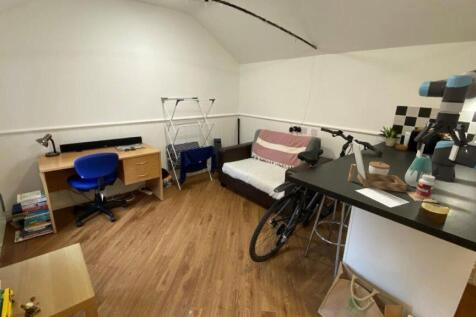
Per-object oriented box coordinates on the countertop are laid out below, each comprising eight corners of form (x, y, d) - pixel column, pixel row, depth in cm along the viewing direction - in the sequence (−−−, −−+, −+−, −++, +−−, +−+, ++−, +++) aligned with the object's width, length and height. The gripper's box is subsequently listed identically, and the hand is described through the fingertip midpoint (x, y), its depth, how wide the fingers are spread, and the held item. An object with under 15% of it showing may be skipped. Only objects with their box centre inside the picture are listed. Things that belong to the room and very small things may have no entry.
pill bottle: (411, 195, 114) (418, 174, 111) (418, 193, 117) (424, 173, 114) (426, 200, 109) (433, 179, 106) (432, 198, 112) (439, 177, 108)
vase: (430, 192, 120) (440, 160, 115) (403, 186, 126) (412, 155, 121) (426, 185, 130) (436, 155, 124) (402, 180, 136) (410, 151, 130)
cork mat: (427, 194, 117) (427, 193, 117) (439, 204, 107) (439, 202, 107) (405, 192, 119) (406, 191, 118) (415, 201, 109) (415, 199, 109)
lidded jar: (390, 180, 134) (394, 165, 131) (370, 178, 136) (373, 163, 133) (382, 174, 144) (386, 160, 141) (364, 172, 146) (367, 158, 143)
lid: (353, 140, 130) (352, 140, 130) (359, 145, 117) (358, 145, 118) (359, 170, 134) (357, 171, 134) (365, 178, 122) (364, 179, 122)
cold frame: (394, 182, 132) (398, 165, 129) (405, 192, 119) (410, 174, 116) (345, 176, 137) (348, 160, 134) (351, 185, 124) (355, 168, 121)
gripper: (476, 113, 101) (460, 158, 108) (413, 110, 106) (401, 153, 113) (489, 115, 94) (471, 163, 101) (421, 111, 99) (408, 157, 106)
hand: (434, 158), depth 107 cm, fingers open, 13 cm apart
